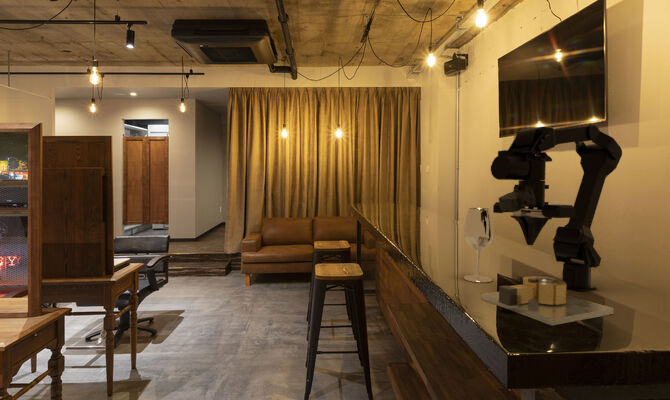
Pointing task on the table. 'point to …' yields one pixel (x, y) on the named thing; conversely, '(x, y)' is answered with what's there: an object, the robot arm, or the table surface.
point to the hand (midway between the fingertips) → (530, 245)
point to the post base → (554, 308)
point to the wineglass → (478, 236)
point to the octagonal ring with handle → (533, 292)
